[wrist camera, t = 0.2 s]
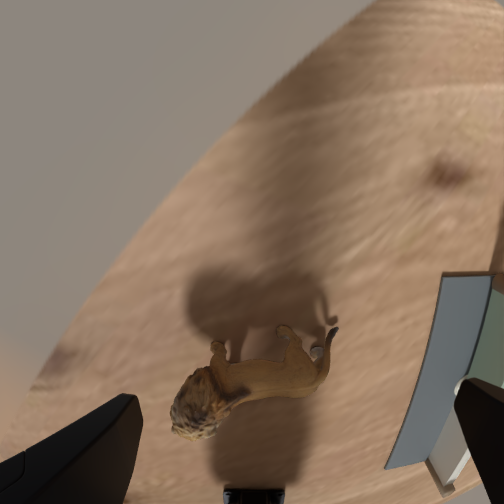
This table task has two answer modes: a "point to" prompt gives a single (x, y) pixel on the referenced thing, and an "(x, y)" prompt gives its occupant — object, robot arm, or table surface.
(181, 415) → the lion figurine
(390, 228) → the table surface
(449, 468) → the fixed fence
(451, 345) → the card
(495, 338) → the fence panel
